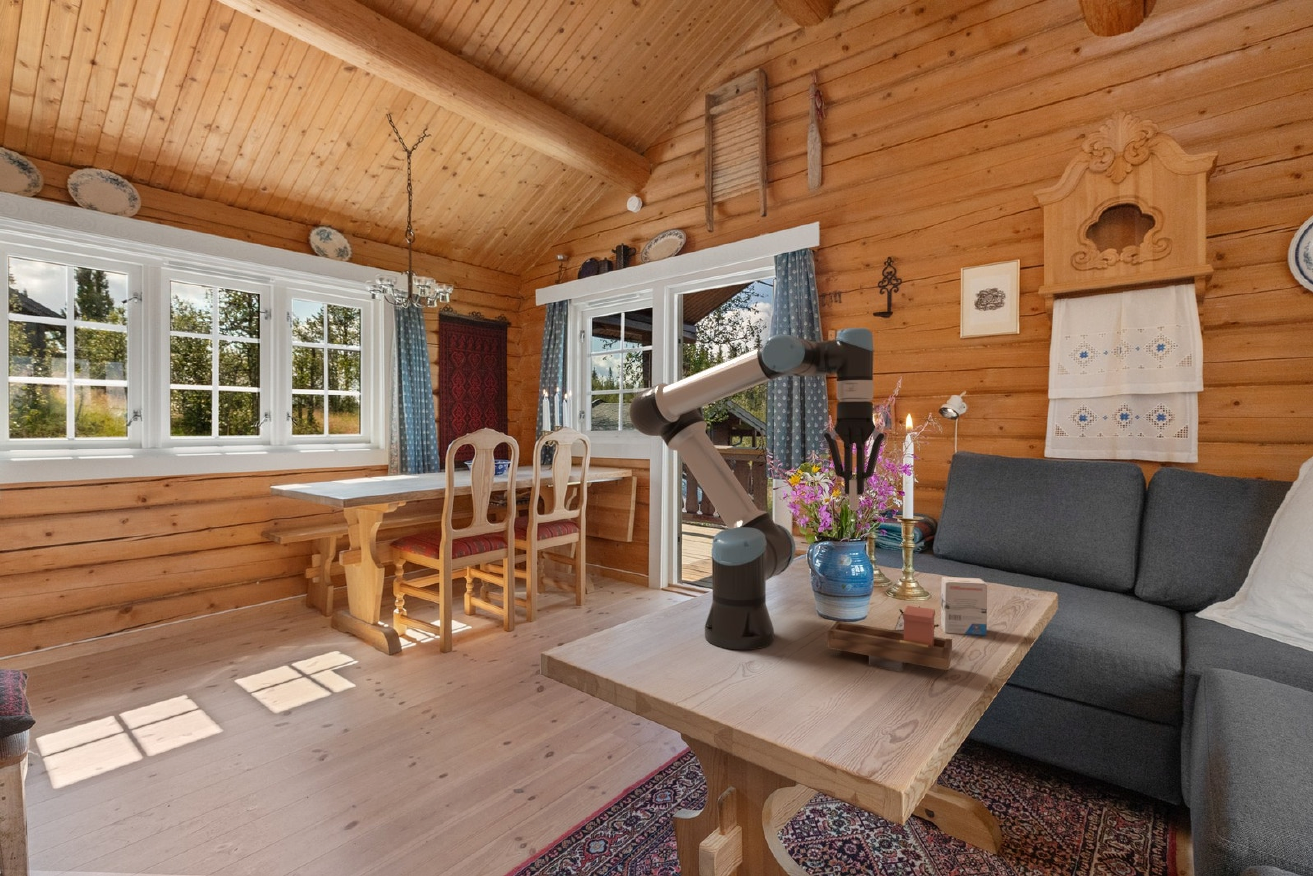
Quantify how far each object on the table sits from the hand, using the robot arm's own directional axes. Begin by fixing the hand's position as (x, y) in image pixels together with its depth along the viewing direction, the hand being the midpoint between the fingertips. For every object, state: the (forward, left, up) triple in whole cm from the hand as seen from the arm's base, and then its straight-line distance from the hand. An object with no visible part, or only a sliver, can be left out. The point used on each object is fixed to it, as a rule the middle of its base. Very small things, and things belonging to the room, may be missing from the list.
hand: (854, 509), depth 133 cm
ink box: (+20, +17, -29) cm, 39 cm away
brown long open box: (+9, -10, -28) cm, 31 cm away
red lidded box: (+14, -10, -24) cm, 30 cm away
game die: (+12, +1, -29) cm, 31 cm away
